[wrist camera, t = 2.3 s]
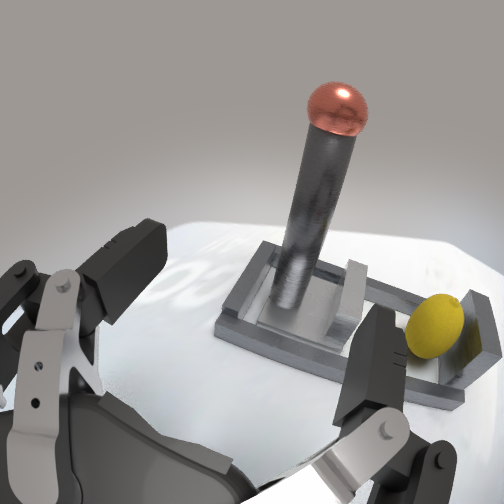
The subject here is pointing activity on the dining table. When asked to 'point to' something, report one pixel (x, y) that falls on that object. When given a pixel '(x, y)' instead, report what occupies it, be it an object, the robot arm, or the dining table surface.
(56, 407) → the robot arm
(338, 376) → the frame
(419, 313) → the lemon
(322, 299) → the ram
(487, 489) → the dining table surface
